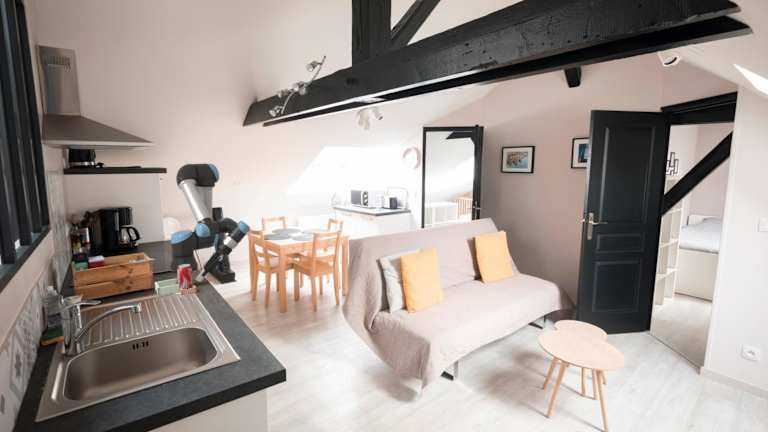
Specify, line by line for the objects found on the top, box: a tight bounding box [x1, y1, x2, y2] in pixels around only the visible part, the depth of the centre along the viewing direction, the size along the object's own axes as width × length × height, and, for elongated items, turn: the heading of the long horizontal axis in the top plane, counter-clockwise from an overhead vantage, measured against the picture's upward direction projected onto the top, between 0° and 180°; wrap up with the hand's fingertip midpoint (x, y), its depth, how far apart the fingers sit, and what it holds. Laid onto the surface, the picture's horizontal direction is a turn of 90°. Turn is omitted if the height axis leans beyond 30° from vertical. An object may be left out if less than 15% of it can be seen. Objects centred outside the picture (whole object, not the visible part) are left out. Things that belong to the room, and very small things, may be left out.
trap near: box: [179, 284, 198, 296], centre depth 195 cm, size 7×4×2 cm, turn 127°
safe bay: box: [154, 278, 180, 297], centre depth 197 cm, size 10×12×4 cm
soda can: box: [176, 264, 194, 289], centre depth 202 cm, size 7×7×12 cm
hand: (197, 280), depth 205 cm, fingers closed
